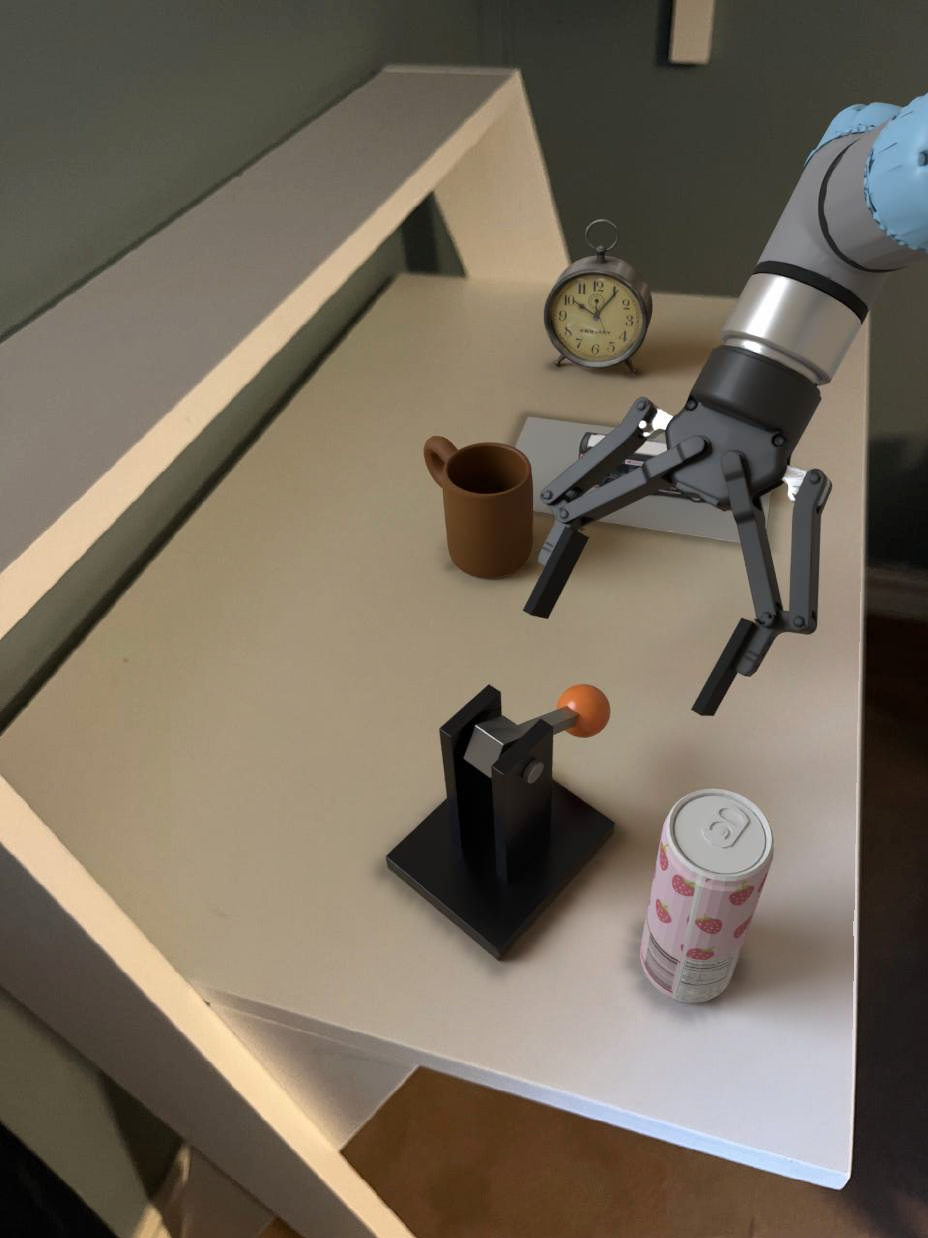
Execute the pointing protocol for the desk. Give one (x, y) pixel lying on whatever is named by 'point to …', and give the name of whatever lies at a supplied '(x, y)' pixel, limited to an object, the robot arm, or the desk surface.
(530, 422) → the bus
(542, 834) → the switch bracket
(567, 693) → the switch lever
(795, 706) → the desk surface
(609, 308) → the alarm clock
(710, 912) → the beverage can
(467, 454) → the mug
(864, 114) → the robot arm
